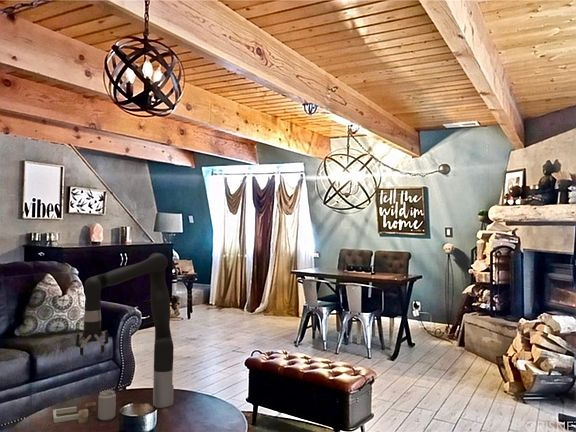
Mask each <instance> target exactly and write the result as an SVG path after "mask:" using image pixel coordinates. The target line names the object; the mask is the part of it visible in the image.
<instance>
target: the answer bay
mask: <svg viewBox="0 0 576 432" xmlns="http://www.w3.org/2000/svg"><path fill="white" fill-rule="evenodd" d="M76 412H78V406H72V407H64V408H57V409H52V419H53V423H54V424H55V423H56V424H57V423H61V422H68V421H75V420H78V417H79V413H76ZM69 413H73V414H69ZM74 413H75V414H74ZM56 414H57V415H60V416H57V415H56ZM63 414H68V415H63ZM61 415H62V416H61Z"/></svg>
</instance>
